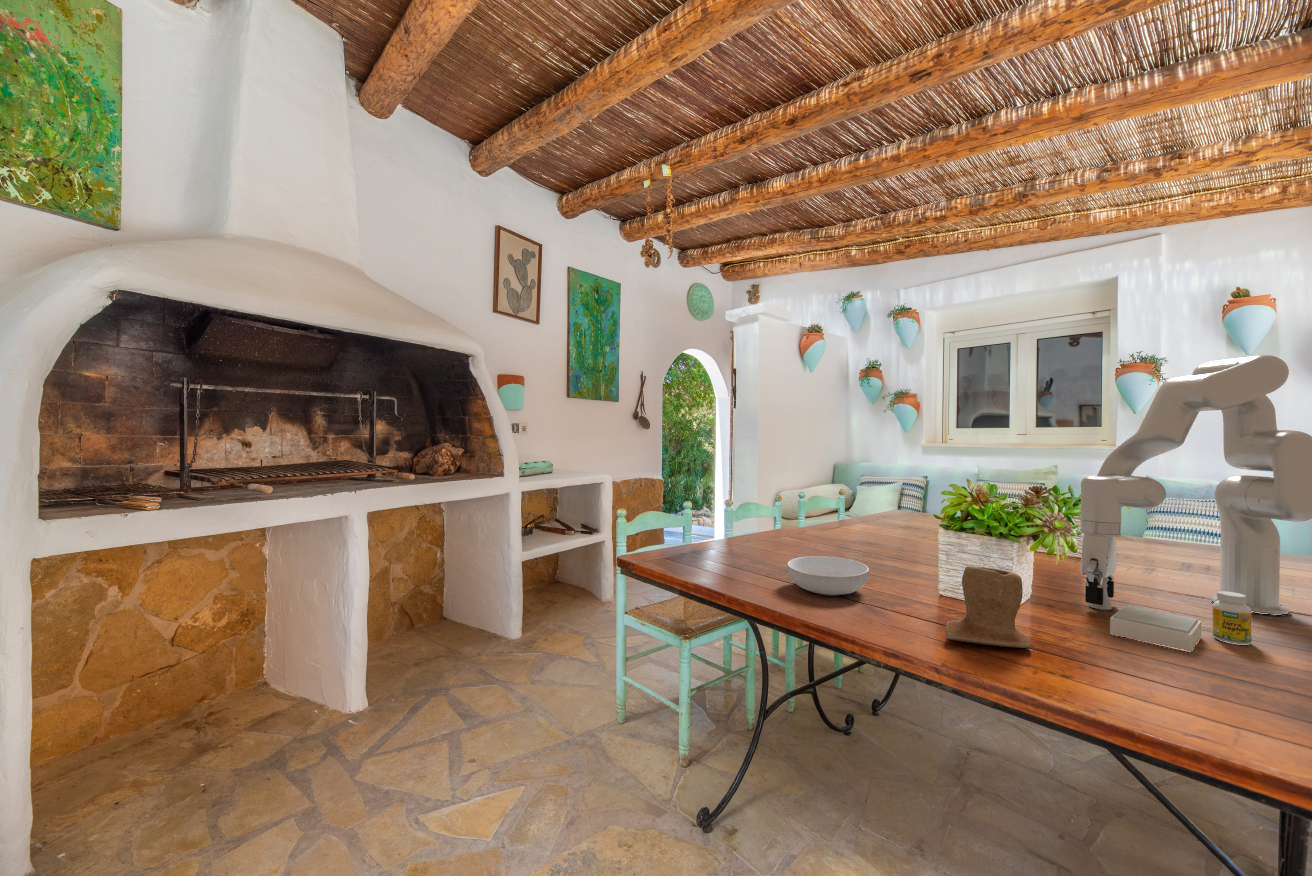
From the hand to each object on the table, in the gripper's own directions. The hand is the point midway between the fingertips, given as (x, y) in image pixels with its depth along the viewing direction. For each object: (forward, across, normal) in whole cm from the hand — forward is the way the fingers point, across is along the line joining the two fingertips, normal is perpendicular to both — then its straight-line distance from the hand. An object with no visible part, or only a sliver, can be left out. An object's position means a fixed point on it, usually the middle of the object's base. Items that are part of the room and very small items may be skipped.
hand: (1099, 599), depth 128 cm
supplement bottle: (+2, +5, +22) cm, 23 cm away
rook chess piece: (+2, 0, 0) cm, 2 cm away
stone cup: (+2, +44, -9) cm, 45 cm away
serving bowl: (+2, +39, -49) cm, 63 cm away
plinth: (+2, +14, +12) cm, 19 cm away
